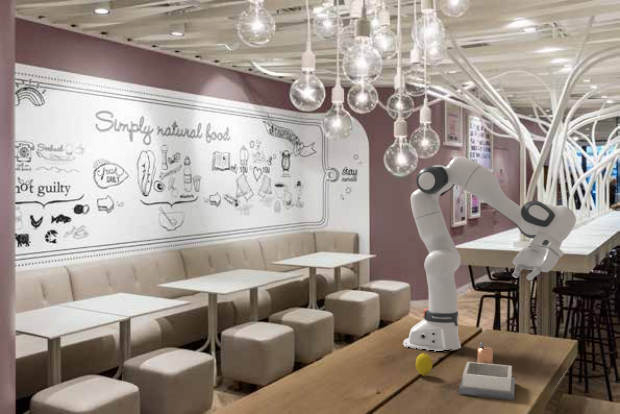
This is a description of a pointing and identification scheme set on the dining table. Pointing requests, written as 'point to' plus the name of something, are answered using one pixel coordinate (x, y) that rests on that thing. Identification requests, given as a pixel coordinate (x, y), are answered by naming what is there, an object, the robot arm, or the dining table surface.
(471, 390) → the open square box
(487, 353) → the copper upright cylinder
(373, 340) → the dining table surface
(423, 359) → the lemon
